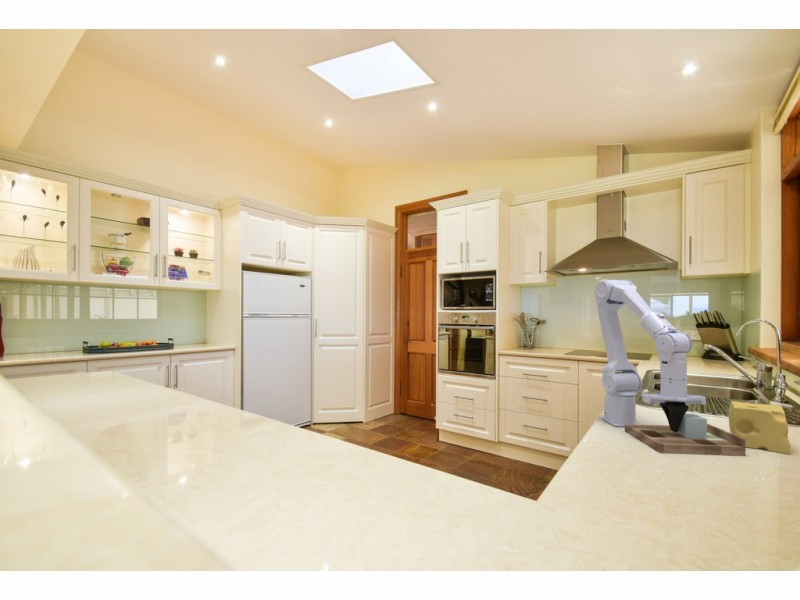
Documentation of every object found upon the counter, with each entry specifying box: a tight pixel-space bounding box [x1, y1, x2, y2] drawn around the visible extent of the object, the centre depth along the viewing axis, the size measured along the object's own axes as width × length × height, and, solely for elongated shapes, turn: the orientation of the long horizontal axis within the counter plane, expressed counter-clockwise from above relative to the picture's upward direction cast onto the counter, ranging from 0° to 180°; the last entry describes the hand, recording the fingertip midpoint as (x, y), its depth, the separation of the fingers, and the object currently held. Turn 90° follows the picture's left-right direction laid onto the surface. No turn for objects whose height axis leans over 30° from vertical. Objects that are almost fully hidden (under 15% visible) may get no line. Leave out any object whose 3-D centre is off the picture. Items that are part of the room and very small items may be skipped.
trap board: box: [624, 423, 747, 457], centre depth 102 cm, size 17×19×4 cm
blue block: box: [675, 412, 708, 439], centre depth 101 cm, size 5×5×5 cm
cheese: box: [728, 400, 791, 455], centre depth 101 cm, size 10×11×10 cm
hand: (674, 431), depth 102 cm, fingers closed
